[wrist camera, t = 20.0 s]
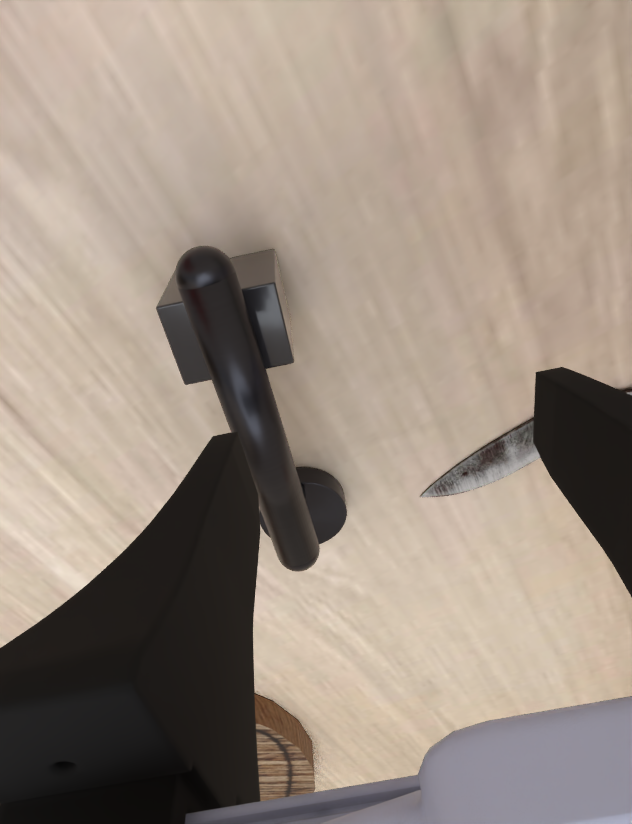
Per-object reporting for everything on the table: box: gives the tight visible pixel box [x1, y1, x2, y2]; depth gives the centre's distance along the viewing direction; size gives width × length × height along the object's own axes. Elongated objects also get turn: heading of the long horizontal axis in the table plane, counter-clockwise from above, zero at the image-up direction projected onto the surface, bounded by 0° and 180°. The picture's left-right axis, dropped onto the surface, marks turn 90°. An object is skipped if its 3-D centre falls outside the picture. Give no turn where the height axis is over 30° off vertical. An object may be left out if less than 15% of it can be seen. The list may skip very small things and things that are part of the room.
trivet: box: [255, 694, 315, 801], centre depth 40 cm, size 25×25×2 cm
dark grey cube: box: [156, 249, 294, 385], centre depth 20 cm, size 3×4×4 cm
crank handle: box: [175, 246, 347, 571], centre depth 22 cm, size 17×4×6 cm, turn 12°
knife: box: [421, 389, 632, 497], centre depth 26 cm, size 18×1×5 cm
